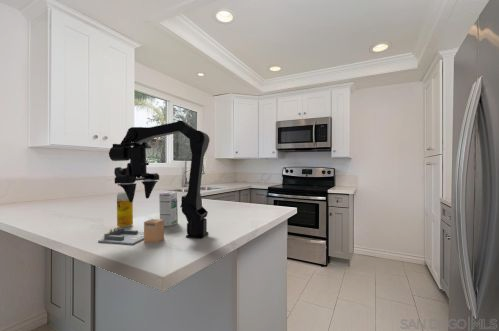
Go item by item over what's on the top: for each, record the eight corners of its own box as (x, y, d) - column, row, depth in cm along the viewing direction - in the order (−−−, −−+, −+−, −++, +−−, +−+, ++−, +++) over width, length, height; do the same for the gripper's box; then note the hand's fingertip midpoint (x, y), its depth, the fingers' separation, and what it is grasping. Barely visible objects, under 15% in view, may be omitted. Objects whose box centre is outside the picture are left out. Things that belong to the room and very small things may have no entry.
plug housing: (164, 238, 86) (164, 219, 86) (156, 242, 82) (156, 222, 82) (152, 237, 87) (151, 219, 87) (144, 241, 83) (143, 222, 83)
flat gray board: (154, 234, 91) (154, 225, 91) (133, 244, 79) (132, 234, 79) (123, 232, 94) (123, 223, 94) (98, 242, 82) (98, 232, 82)
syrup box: (171, 226, 103) (171, 193, 103) (159, 225, 104) (159, 193, 104) (177, 223, 109) (177, 191, 108) (166, 222, 110) (166, 191, 110)
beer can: (113, 227, 101) (113, 192, 101) (126, 224, 107) (125, 191, 107) (124, 228, 99) (123, 193, 99) (135, 225, 105) (135, 191, 105)
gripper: (137, 161, 103) (138, 196, 103) (101, 160, 85) (102, 204, 85) (159, 160, 100) (160, 196, 100) (127, 159, 82) (128, 204, 82)
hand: (139, 200), depth 92 cm, fingers open, 9 cm apart
